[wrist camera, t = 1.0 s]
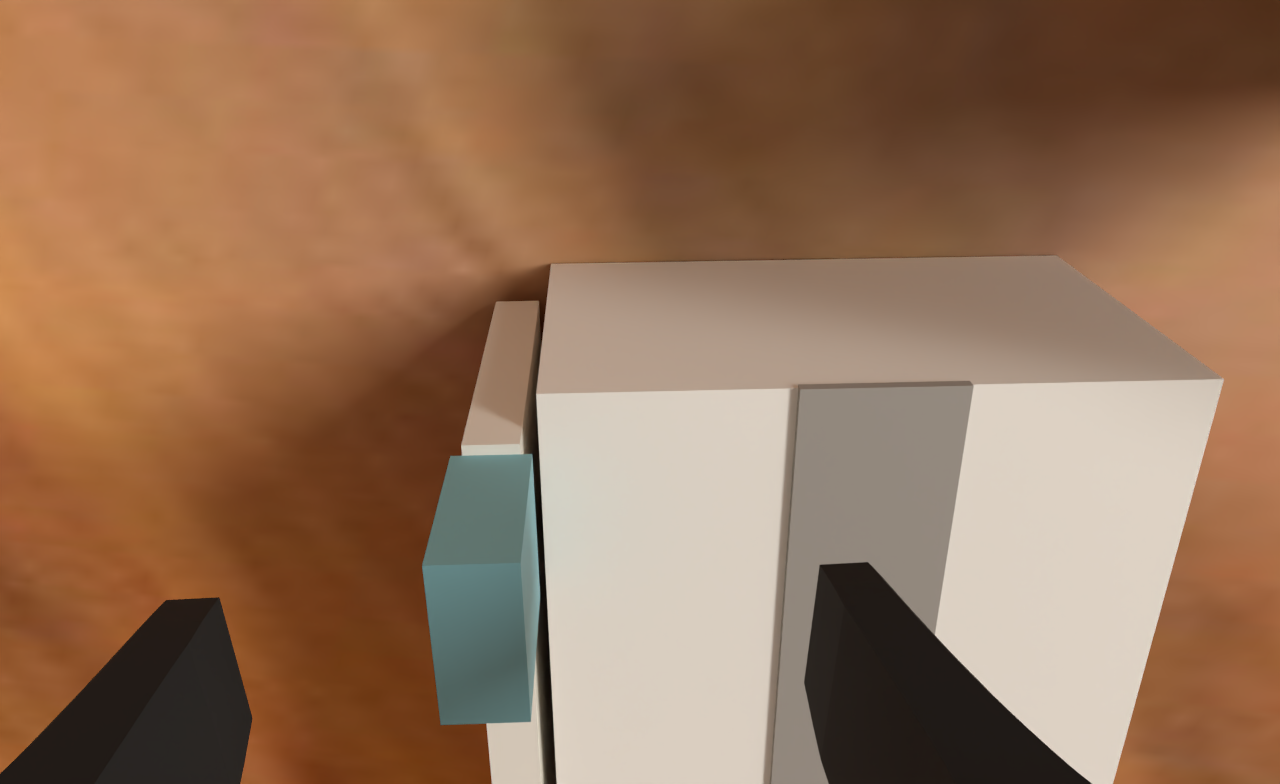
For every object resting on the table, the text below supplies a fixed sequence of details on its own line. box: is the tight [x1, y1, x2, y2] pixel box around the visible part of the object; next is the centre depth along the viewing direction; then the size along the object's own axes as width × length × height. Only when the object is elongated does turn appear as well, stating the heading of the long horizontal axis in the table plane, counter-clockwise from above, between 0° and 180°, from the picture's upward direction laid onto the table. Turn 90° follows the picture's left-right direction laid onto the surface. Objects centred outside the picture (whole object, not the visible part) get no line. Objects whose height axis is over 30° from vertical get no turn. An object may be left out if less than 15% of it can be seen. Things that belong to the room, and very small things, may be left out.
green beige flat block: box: [422, 301, 557, 784], centre depth 22 cm, size 14×1×10 cm, turn 0°
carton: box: [536, 255, 1224, 784], centre depth 24 cm, size 16×12×7 cm
